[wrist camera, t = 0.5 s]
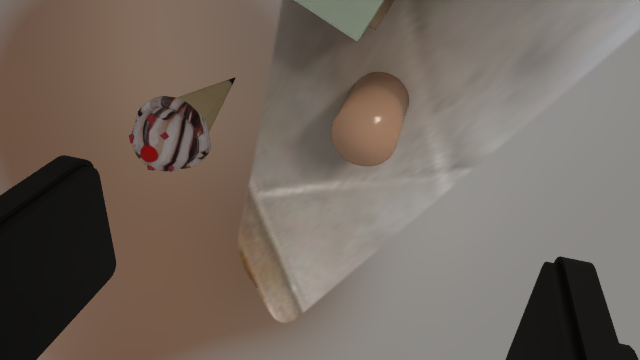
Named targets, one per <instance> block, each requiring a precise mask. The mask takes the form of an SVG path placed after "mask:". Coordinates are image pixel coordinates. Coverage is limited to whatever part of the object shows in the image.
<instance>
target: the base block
mask: <svg viewBox="0 0 640 360" xmlns="http://www.w3.org/2000/svg"><path fill="white" fill-rule="evenodd" d="M393 1H394V0H384V2H383V3H382V5H381V7H380V8H379V10H378V12H377V13H376V15H375V16H374V18H373V20H372V21H371V23H370V24H369V26H370V27H372V28H373V29H375V30H376V28H377V26H378V25H379V23H380V22H381V20H382V19H383V17H384V15H385V14H386V12H387V11H388V9H389V8H390V6H391V4H392V3H393Z"/></svg>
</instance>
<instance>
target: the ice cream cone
mask: <svg viewBox="0 0 640 360" xmlns="http://www.w3.org/2000/svg"><path fill="white" fill-rule="evenodd" d="M234 80H235V78H232V79H230V80H226V81H224V82H221V83H218V84H215V85H212V86H209V87H206V88H203V89H200V90H197V91H195V92H192V93H189V94H186V95H183V96H180V97H177V98H174V97H167V96H160V97H157V98H154V99H152V100H150V101H149V102H147V103H146V104H144V105H143V106H142V107H141V108H140V110H139V111H138V114H137V117H136V123H135V125H134V128H133V131H132V134H131V135H129V138H130V142H131V143H132V145H133V148H134V151H135V153H136V155H137V156H138V158H139V159H140V160H141V161H142V162H143V163H144V164H145V165H147V167H148V170H154V169H156V170H160V171H170V172H171V171H173V170H176V169H179V168H181V169H183V168H190V167H192V166H195V165H196V164H198V163H199V162H201V161H202V160H203V159H204V158H205V157H206V156H207V155H208V153H209V152H210V149H211V147H210V138H209V131H210V129H211V126H212V125H213V122H214V121H215V118H216V117H217V114H218V112H219V110H220V108H221V106H222V104H223V102H224V100H225V98H226V96H227V94H228V92H229V90H230V88H231V86H232V84H233V82H234Z"/></svg>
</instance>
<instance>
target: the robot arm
mask: <svg viewBox="0 0 640 360" xmlns="http://www.w3.org/2000/svg"><path fill="white" fill-rule="evenodd" d="M115 268H116V259H115V253H114V248H113V243H112V238H111V233H110V228H109V222H108V217H107V212H106V207H105V202H104V197H103V191H102V186H101V181H100V176H99V173H98V171H97V170H96V169H95V168H94V167H93V165H92V163H91V162H90V161H88V160H85V159H80V158H75V157H70V156H59V157H57V158H56V159H54V160H53V161H51V162H50V163H48V164H47V165H45V166H44V167H42V168H41V169H39V170H38V171H37V172H35V173H33V174H32V175H30V176H29V177H27V178H26V179H24V180H23V181H21V182H20V183H18V184H17V185H15V186H14V187H12V188H11V189H9V190H8V191H6V192H5V193H3V194H2V195H0V360H36V359H37V358H38V357H39V356H40V355H41V354H42V353H43V352H44V351H45V350H46V348H47V347H48V346H49V345H50V344H51V343H52V342H53V341H54V340H55V339H56V337H57V336H58V335H59V334H60V333H61V332H62V331H63V330H64V329H65V328H66V326H67V325H68V324H69V323H70V322H71V321H72V320H73V319H74V318H75V317H76V316H77V314H78V313H79V312H80V311H81V310H82V309H83V308H84V307H85V306H86V305H87V303H88V302H89V301H90V300H91V299H92V298H93V297H94V296H95V294H96V293H97V292H98V291H99V290H100V289H101V288H102V287H103V286H104V285H105V284H106V283H107V281H108V280H109V279H110V278H111V277H112V275H113V273H114V271H115ZM506 360H638V357H637V355H636V353H635V351H634V350H633V349H632V348H631V347H630V346H629V345H624V344H620V343H619V342H618V339H617V336H616V332H615V329H614V326H613V323H612V320H611V317H610V313H609V310H608V307H607V304H606V301H605V298H604V295H603V291H602V289H601V285H600V282H599V279H598V276H597V272H596V269H595V267H594V265H593V264H592V263H589V262H584V261H579V260H575V259H569V258H565V257H558V258H557V259H556V260H555V262H554V263H550V262H545V263H544V264H543V266H542V268H541V271H540V273H539V276H538V278H537V281H536V284H535V286H534V289H533V291H532V294H531V296H530V299H529V301H528V304H527V306H526V309H525V312H524V314H523V317H522V319H521V322H520V324H519V327H518V329H517V332H516V334H515V337H514V339H513V342H512V344H511V347H510V350H509V352H508V355H507V358H506Z"/></svg>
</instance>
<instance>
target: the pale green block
mask: <svg viewBox="0 0 640 360" xmlns="http://www.w3.org/2000/svg"><path fill="white" fill-rule="evenodd" d="M295 1H296V2H298V3H299V4H301V5H302V6H304V7H305V8H307V9H308V10H310V11H311V12H313V13H314V14H316V15H317V16H319V17H320V18H322V19H323V20H325V21H326V22H328V23H329V24H331V25H333V26H334V27H336V28H337V29H339V30H340V31H342V32H343V33H345V34H346V35H348V36H349V37H351V38H352V39H354V40H355V41H358V40H359V39H360V37H361V36H362V34H363V33H364V31H365V30H366V28H367V27H368V25H369V24H370V23H371V21H372V20H373V18H374V16H375V15H376V13H377V12H378V10H379V8H380V7H381V5H382V3H383V2H384V0H295Z"/></svg>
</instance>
